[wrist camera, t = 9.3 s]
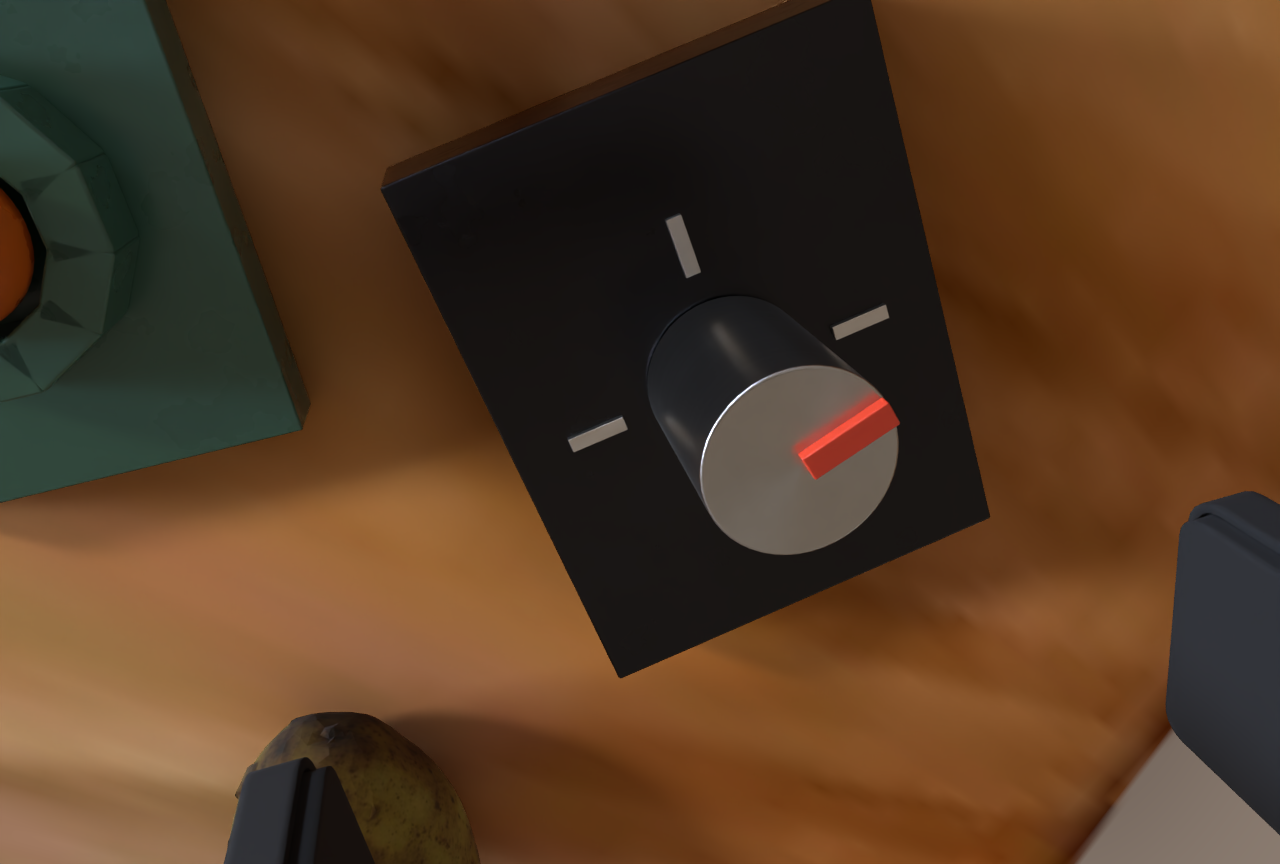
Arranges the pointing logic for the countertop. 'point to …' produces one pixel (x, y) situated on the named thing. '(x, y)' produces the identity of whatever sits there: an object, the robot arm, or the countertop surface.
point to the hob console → (692, 303)
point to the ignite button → (13, 256)
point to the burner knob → (771, 426)
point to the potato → (381, 787)
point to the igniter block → (125, 258)
